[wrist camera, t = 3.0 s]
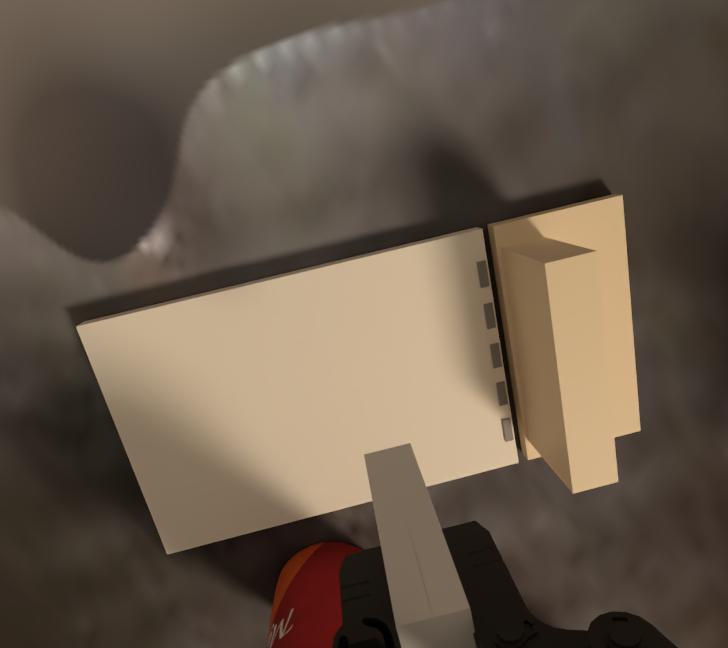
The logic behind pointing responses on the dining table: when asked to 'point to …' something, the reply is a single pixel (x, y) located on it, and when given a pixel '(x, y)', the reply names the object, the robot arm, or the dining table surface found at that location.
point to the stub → (569, 335)
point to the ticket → (306, 387)
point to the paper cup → (309, 597)
